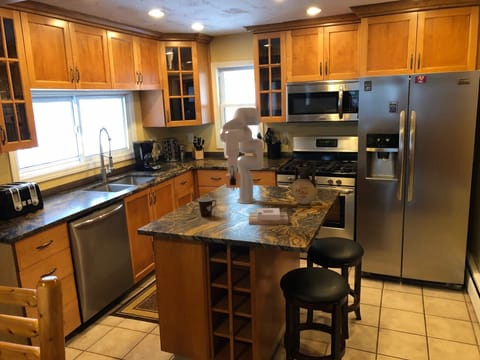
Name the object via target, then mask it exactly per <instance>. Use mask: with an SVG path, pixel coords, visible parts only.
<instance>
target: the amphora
mask: <svg viewBox="0 0 480 360" xmlns="http://www.w3.org/2000/svg"><path fill="white" fill-rule="evenodd" d="M303 161H304V160H302V159H301V158H298V159H296V160H295V161H294V179H293V181H292V184H291V185H290V191H291V196H292V197H293V199H294V200H295V201H296V206H297V207H300V208H309V207H311V206H312V202H313V201H314V200H315V199H316V197H317V195H318V192H319V191H318V190H319V189H318V188H319V187H318V184H317V182H316V167H317V166H316V162H315V161H314V160H310V159H309V160H307V162H306V164H304V162H303ZM310 173H311V177H310Z"/></svg>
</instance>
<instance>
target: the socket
mask: <svg viewBox="0 0 480 360" xmlns="http://www.w3.org/2000/svg"><path fill="white" fill-rule="evenodd" d="M256 213H257V220H280V207H277V208H276V207H275V208H274V207H269V208H268V207H266V208H265V207H264V208H263V207H262V208H256Z"/></svg>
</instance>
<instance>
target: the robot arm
mask: <svg viewBox="0 0 480 360" xmlns="http://www.w3.org/2000/svg"><path fill="white" fill-rule="evenodd" d="M261 120H262V117H261V114H260V112H259V110H258V109H257V108H255V107H250V106H249V107H239V108H237V109H236V110H235V111H234V114H233V118H232V119H231V120H229V121H227V122H226V123H224V124H222V126H221V129H220V132H219V133H220V134H219V139H220V141H221V142H222V143H225V156H227V174H229V173H230V185H236V178H235V173H241V187H240V188H238V192H239V193H238V194H239V196H238V199H236V201H237V203H239V204H253V203H256V201H257V200H256V198H254V176H253V173H252V172H251V171H254V170H255V171H258V170H262V169H263V166H264V142H263V141H262V139H257V138H256V139H255V138H253V132H252V129H251V128H250V127H249V126H259V125H260V124H261ZM240 153H241V154H248V155H240ZM249 154H250V155H249ZM251 154H253V155H251ZM254 154H255V155H254Z"/></svg>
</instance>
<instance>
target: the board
mask: <svg viewBox="0 0 480 360" xmlns="http://www.w3.org/2000/svg"><path fill="white" fill-rule="evenodd" d="M248 217H249V218H248V225H289V218H288V217H289V216H288V213H287V211H283V212H282V211H281V212H280V220H257V212H249V216H248Z"/></svg>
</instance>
